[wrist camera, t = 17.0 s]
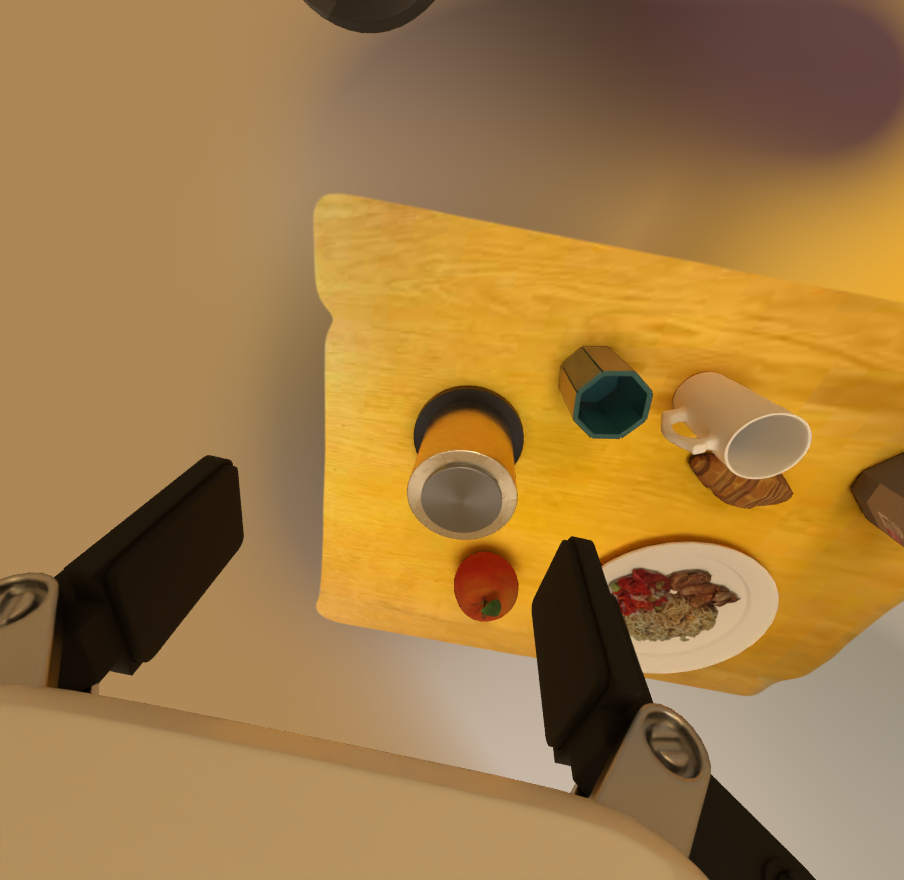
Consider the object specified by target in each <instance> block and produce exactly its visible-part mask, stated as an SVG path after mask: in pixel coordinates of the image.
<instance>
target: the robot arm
mask: <svg viewBox="0 0 904 880" xmlns="http://www.w3.org/2000/svg"><path fill="white" fill-rule="evenodd" d="M243 538H244V533H243V522H242V511H241V499H240V488H239V477H238V469H237V467H235V466H233V463H232V461H231V460H229V459H224V458H220V457H215V456H211V455H207V456H205V457H203V458H202V459H201V460H199V461H198V462H197V463H196V464H194V465H193V466H192V467H191V468H189V469H188V470H187V471H186V472H184V473H183V474H182V475H181V476H179V477H178V478H177V479H176V480H174V481H173V482H172V483H170V484H169V485H168V486H167V487H165V488H164V489H163V490H162V491H160V492H159V493H158V494H157V495H155V496H154V497H153V498H152V499H150V500H149V501H148V502H147V503H145V504H144V505H143V506H141V507H140V508H139V509H138V510H136V511H135V512H134V513H133V514H132V515H130V516H129V517H128V518H126V519H125V520H124V521H123V522H122V523H120V524H119V525H118V526H116V527H115V528H114V529H113V530H111V531H110V532H109V533H108V534H106V535H105V536H104V537H102V538H101V539H100V540H99V541H97V542H96V543H95V544H94V545H92V546H91V547H90V548H89V549H87V550H86V551H85V552H84V553H82V554H81V555H80V556H79V557H77V558H76V559H75V560H74V561H72V562H71V563H70V564H68V565H67V566H66V567H65V568H64V570H63V571H61V572H60V573H59V574H58V575H56V576H55V577H54V578H53V577H52V576H50V575H47V574H44V573H24V574H17V575H12V576H9V577H6V578H2V579H0V880H816V879H815V878H814V877H813V876H812V875H811V874H810V873H809V871H808V870H807V869H806V868H805V867H804V866H803V865H802V864H801V863H800V862H799V861H798V860H797V859H796V858H795V857H794V856H793V855H792V854H791V853H790V852H789V851H788V850H787V849H786V848H785V847H784V846H783V845H782V844H781V843H780V842H779V841H778V840H777V839H776V838H775V837H774V836H773V835H771V833H770V832H769V831H768V830H767V829H766V828H765V827H763V826H762V824H761V823H760V822H759V821H758V820H757V819H755V817H754V816H753V815H752V814H751V813H749V812H748V810H747V809H745V808H744V807H743V806H742V805H741V804H740V803H739V802H738V801H737V800H736V799H735V798H734V797H733V796H732V795H731V794H730V793H729V792H728V791H727V790H726V789H725V788H724V787H723V786H722V785H721V784H720V783H719V782H718V781H717V780H716V779H715V778H714V777H713V776H712V775H711V774H710V773H711V765H710V760H709V756H708V752H707V750H706V748H705V746H704V744H703V742H702V740H701V738H700V737H699V736H698V734H697V733H696V731H695V730H694V728H693V727H692V726H691V725H690V724H689V723H688V722H687V721H686V720H685V719H684V718H683V717H682V716H681V715H679V714H678V713H676V712H675V711H674V710H672V709H670V708H668V707H666V706H664V705H661V704H655V703H653V701H652V698H651V695H650V692H649V689H648V686H647V684H646V681H645V678H644V675H643V672H642V669H641V666H640V663H639V660H638V657H637V655H636V652H635V649H634V646H633V643H632V640H631V637H630V634H629V631H628V629H627V626H626V623H625V620H624V617H623V614H622V611H621V608H620V606H619V603H618V601H617V599H616V597H615V596H614V595H613V594H611V593H610V590H609V587H608V584H607V581H606V578H605V575H604V572H603V569H602V566H601V563H600V560H599V557H598V554H597V551H596V548H595V545H594V543H593V542H592V541H591V540H587V539H582V538H578V537H573V536H571V537H570V538H569V539H568V540H563V541H562V542H561V544H560V546H559V548H558V550H557V552H556V554H555V556H554V558H553V560H552V562H551V564H550V566H549V568H548V571H547V573H546V575H545V577H544V579H543V581H542V583H541V585H540V587H539V589H538V591H537V593H536V595H535V597H534V599H533V603H532V619H533V628H534V637H535V646H536V655H537V663H538V673H539V682H540V691H541V700H542V709H543V718H544V727H545V736H546V741H547V744H548V746H550V747H553V751H554V760H555V763H559V764H564V765H569V766H571V770H572V776H573V780H574V782H575V783H576V784H575V785H574V787H573V789H572V791H571V793H567V792H564V791H560V790H557V789H553V788H549V787H544V786H540V785H535V784H531V783H527V782H523V781H519V780H514V779H510V778H505V777H501V776H497V775H493V774H488V773H483V772H479V771H474V770H469V769H464V768H460V767H455V766H450V765H445V764H440V763H436V762H431V761H426V760H421V759H416V758H412V757H407V756H402V755H397V754H392V753H388V752H383V751H378V750H373V749H368V748H363V747H359V746H354V745H349V744H344V743H339V742H334V741H330V740H324V739H320V738H315V737H310V736H305V735H300V734H295V733H290V732H285V731H280V730H276V729H271V728H265V727H261V726H256V725H251V724H246V723H241V722H235V721H231V720H226V719H221V718H215V717H211V716H206V715H200V714H196V713H191V712H185V711H180V710H175V709H170V708H165V707H160V706H155V705H150V704H145V703H140V702H134V701H128V700H123V699H117V698H112V697H106V696H101V695H98V693H99V682H100V681H101V680H102V679H103V678H104V677H105V676H106V674H107V673H108V672H109V671H113V672H117V673H122V674H127V675H133V674H134V672H135V671H136V670H137V669H138V668H139V666H140V665H141V664H142V663H143V662H148V661H150V660H151V659H152V658H153V657H154V656H155V655H156V654H157V653H158V651H159V650H160V649H161V647H162V646H163V645H164V644H165V642H166V641H167V640H168V639H169V637H170V636H171V635H172V633H173V632H174V631H175V630H176V628H177V627H178V626H179V625H180V623H181V622H182V621H183V619H184V618H185V617H186V616H187V614H188V613H189V612H190V611H191V609H192V608H193V607H194V605H195V604H196V603H197V602H198V600H199V599H200V598H201V596H202V595H203V594H204V593H205V591H206V590H207V589H208V588H209V586H210V585H211V584H212V582H213V581H214V580H215V579H216V577H217V576H218V575H219V574H220V572H221V571H222V570H223V569H224V567H225V566H226V565H227V563H228V562H229V561H230V560H231V558H232V557H233V556H234V555H235V553H236V552H237V551H238V549H239V548H240V546H241V544H242V542H243Z"/></svg>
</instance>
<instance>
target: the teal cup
mask: <svg viewBox="0 0 904 880" xmlns="http://www.w3.org/2000/svg"><path fill="white" fill-rule="evenodd" d="M558 387H559V390H560V392H561V394H562V396H563V399H564V401H565V403H566V405H567V407H568V410H569V412H570V414H571V416H572V418H573V421H574V422H575V423H576V424H577V425H578V426H579V427H580V428H581V429H582V430H583V431H584V432H585V433H586V434H587V435H588V436H589V437H590V438H591V437H592V438H597V439H620V437H621V438H623V437H624V436H626V435H627V434H629V433H630V432H631V431H633V430H634V429H636V428H637V427H638V426H640V425H641V424H643V423H644V422H645V419H646V420H647V418H648V413H649V409H650V405H651V401H652V397H653V393H652V392H653V391H652V390H651V389H650V387H649V386H648V385H647V384H646V383H645V382H644V381H643V379H642V378H641V377H640V376H639V375H638V374H637V373H636V371H634V370H633V369H632V368H631V367H630V366H629V365H628V364H627V363H626V362H625V361H624V360H623V359H621V358H620V357H619V356H618V355H617V354H616V353H615V352H614V351H613V350H612V349H611V348H610V347H607V346H582V348H581V347H580V348H579V349H578V350H577V351H575V352H574V353H573V354H572V355H571V356H570V357H569V358H567V359H566V360H565V361H564V362H563V363H562V365H561V367H560V376H559V386H558Z"/></svg>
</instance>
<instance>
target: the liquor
mask: <svg viewBox="0 0 904 880" xmlns="http://www.w3.org/2000/svg"><path fill="white" fill-rule="evenodd" d="M851 489H852V492H853V494H854V496H855V498H856V500H857V501H858V503H859V505H860V507H861V509H862V511H863V513H864V515H865V517H866V519H867V520H869V521H870V522H871V523H873V524H874V525H875V526H877V527H878V528H879V529H881V530H882V531H883V532H884V533H886V534H887V535H888V536H890V537H891V538H892V539H894V540H895V541H896V542H898V543H899V544H900V545H902V546H903V547H904V453H902V454H900V455H898V456H896V457H893V458H891V459H889V460H887V461H884V462H882V463H880V464H878V465H875V466H873V467H871V468H869V469H867V470H864V471H862V473H861V474H860V476H859V477H858V479H857V480H856V481H855V483H854V484H853V486H852V487H851Z"/></svg>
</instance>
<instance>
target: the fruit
mask: <svg viewBox="0 0 904 880" xmlns="http://www.w3.org/2000/svg"><path fill="white" fill-rule="evenodd" d="M518 586H519V583H518V579H517V576H516V573H515V571H514V569H513V568H512V566H511V565H510V564H509V563H508V562H507V561H506V560H505V559H504V558H502V557H501V556H499V555H498V554H495V553H492V552H477V553H475V554H473V555H471V556H469V557H467V558H466V559H465V560H464V561H463V562H462V563H461V564H460V566H459V568H458V570H457V572H456V575H455V578H454V593H455V596H456V599H457V602H458V604H459V607H460V608H461V609H462V611H463V612H464V613H465V614H466V615H467V616H469V617H470V618H472V619H473V620H477V621H492V620H496V619H499V618H501V617H503V616H504V615H505V614H507V613H508V612H509V611H510V610H511V609H512V607H513V605H514V604H515V602H516V599H517V596H518Z"/></svg>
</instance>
